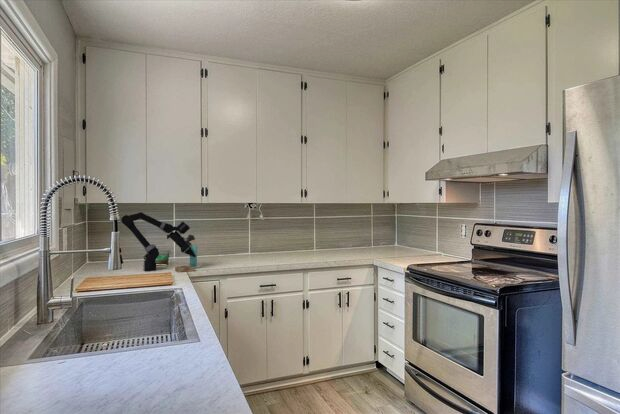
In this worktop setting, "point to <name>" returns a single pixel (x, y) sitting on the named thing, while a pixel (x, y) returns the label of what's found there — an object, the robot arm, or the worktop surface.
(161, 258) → the food container
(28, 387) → the worktop surface
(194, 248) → the peg
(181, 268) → the socket plate
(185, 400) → the worktop surface
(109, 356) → the worktop surface
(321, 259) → the worktop surface
